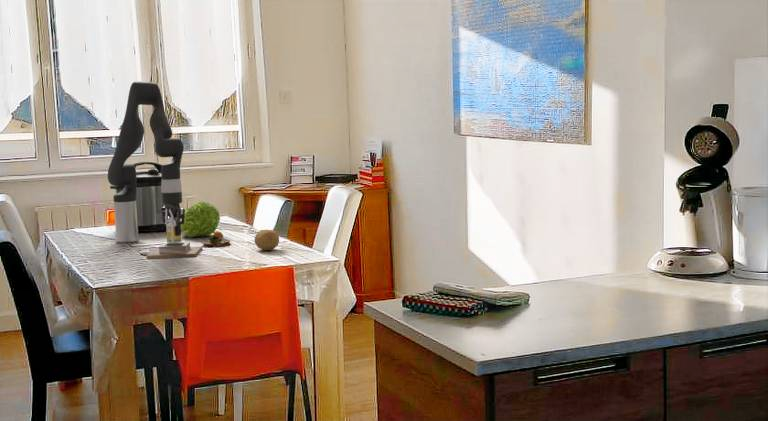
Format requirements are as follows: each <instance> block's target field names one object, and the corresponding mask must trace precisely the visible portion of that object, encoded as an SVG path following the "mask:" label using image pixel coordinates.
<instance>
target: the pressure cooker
mask: <svg viewBox="0 0 768 421" xmlns="http://www.w3.org/2000/svg"><path fill="white" fill-rule="evenodd" d="M132 164H133V165H134V166H135V169H136V168H137V167H138V166H142V165H151V166H153V167H154V168H150V169H149V170H145V171H136V188H137V194H136V205H137V221H138V232H160V231H167V229H166V224H165V223H163V220H162V213H161V208H163V207H165V204H163V203H162V191H161V182H162V179H161V166H162V165H163V164H160V163H157V162H153V161H143V162H142V161H141V162H136V163H132ZM124 187H125V185H119V186H115V185H110V186H109V188H110V189H111V190H115V194H117V193H119V192H121V191H122V190H123V189H124ZM165 220H166V219H165Z"/></svg>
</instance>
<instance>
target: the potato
mask: <svg viewBox="0 0 768 421" xmlns="http://www.w3.org/2000/svg"><path fill="white" fill-rule="evenodd" d="M279 243H280V237H279V235H278V232H277V231H276V230H273V229H262V230H259V231H257V232H256V234H255V236H254V244H255V245H256V247H258V249H261V250H263V251H271V250H274V249H275V248H277V246H278V247H279Z"/></svg>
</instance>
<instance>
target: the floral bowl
mask: <svg viewBox="0 0 768 421" xmlns="http://www.w3.org/2000/svg"><path fill="white" fill-rule="evenodd" d="M221 229H222V228H220V231H219V230H217V231H216V230H215V232H214V233H213V234H211V236H210V237H209V238H208V240H203V241H201V244H202V245H203V246H205V248H211V246H212V247H213V248H219V247H222V246H223V247H227V246H231V241H230V240H229V239H225V238H224V234H223V233H222V232H221Z"/></svg>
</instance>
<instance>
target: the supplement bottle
mask: <svg viewBox="0 0 768 421" xmlns="http://www.w3.org/2000/svg"><path fill="white" fill-rule="evenodd" d="M176 218H177V217H176ZM176 221H177V220H176ZM168 222H169V223H167V225H166V229H167V230H166V243H180V242H182V234H181V235H180V236H176V235H175V224H174V221H173V220H172V218H171V217H170V218H168Z"/></svg>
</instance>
